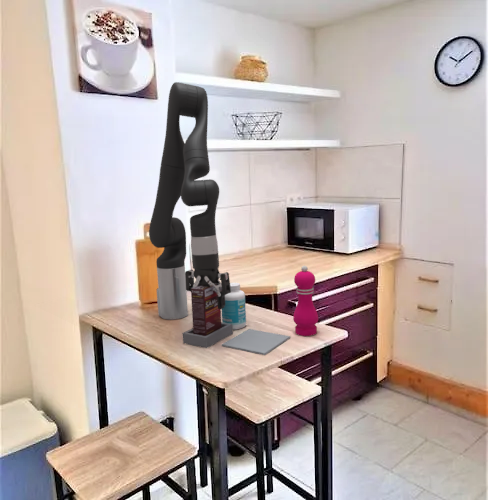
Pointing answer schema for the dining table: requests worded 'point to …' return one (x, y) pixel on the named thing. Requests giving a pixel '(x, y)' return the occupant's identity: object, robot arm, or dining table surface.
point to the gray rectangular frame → (209, 339)
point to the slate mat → (256, 341)
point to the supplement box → (205, 310)
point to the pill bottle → (234, 307)
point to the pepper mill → (305, 304)
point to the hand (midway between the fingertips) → (209, 306)
